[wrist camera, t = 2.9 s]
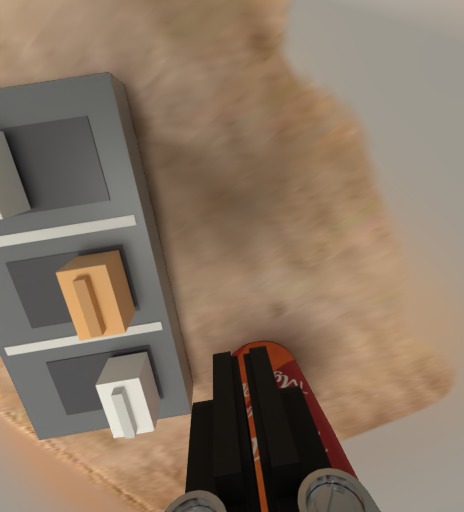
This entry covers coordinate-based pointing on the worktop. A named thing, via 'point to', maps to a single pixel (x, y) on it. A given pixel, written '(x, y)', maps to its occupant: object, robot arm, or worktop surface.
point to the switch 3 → (129, 395)
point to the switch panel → (80, 253)
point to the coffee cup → (292, 376)
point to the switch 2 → (97, 294)
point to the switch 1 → (10, 184)
